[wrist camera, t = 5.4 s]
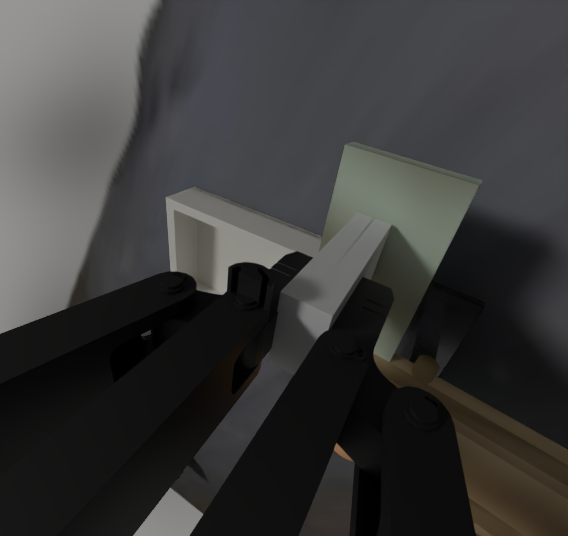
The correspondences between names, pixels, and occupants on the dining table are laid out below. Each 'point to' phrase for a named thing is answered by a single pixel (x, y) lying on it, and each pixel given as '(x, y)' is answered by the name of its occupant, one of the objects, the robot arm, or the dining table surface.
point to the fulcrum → (439, 325)
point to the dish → (226, 237)
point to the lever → (401, 372)
